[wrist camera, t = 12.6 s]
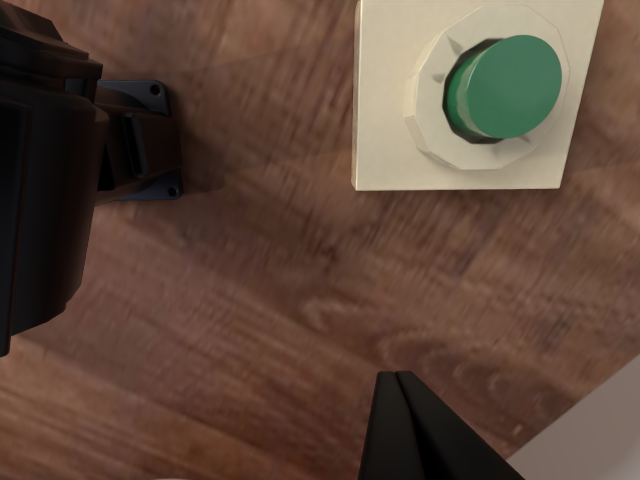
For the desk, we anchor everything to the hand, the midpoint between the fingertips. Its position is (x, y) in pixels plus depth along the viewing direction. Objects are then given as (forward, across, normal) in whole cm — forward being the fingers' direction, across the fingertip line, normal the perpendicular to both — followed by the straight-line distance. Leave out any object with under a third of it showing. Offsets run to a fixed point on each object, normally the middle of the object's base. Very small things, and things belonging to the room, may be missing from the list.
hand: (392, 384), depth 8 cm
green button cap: (+9, -6, -7) cm, 13 cm away
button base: (+13, -6, -7) cm, 16 cm away
